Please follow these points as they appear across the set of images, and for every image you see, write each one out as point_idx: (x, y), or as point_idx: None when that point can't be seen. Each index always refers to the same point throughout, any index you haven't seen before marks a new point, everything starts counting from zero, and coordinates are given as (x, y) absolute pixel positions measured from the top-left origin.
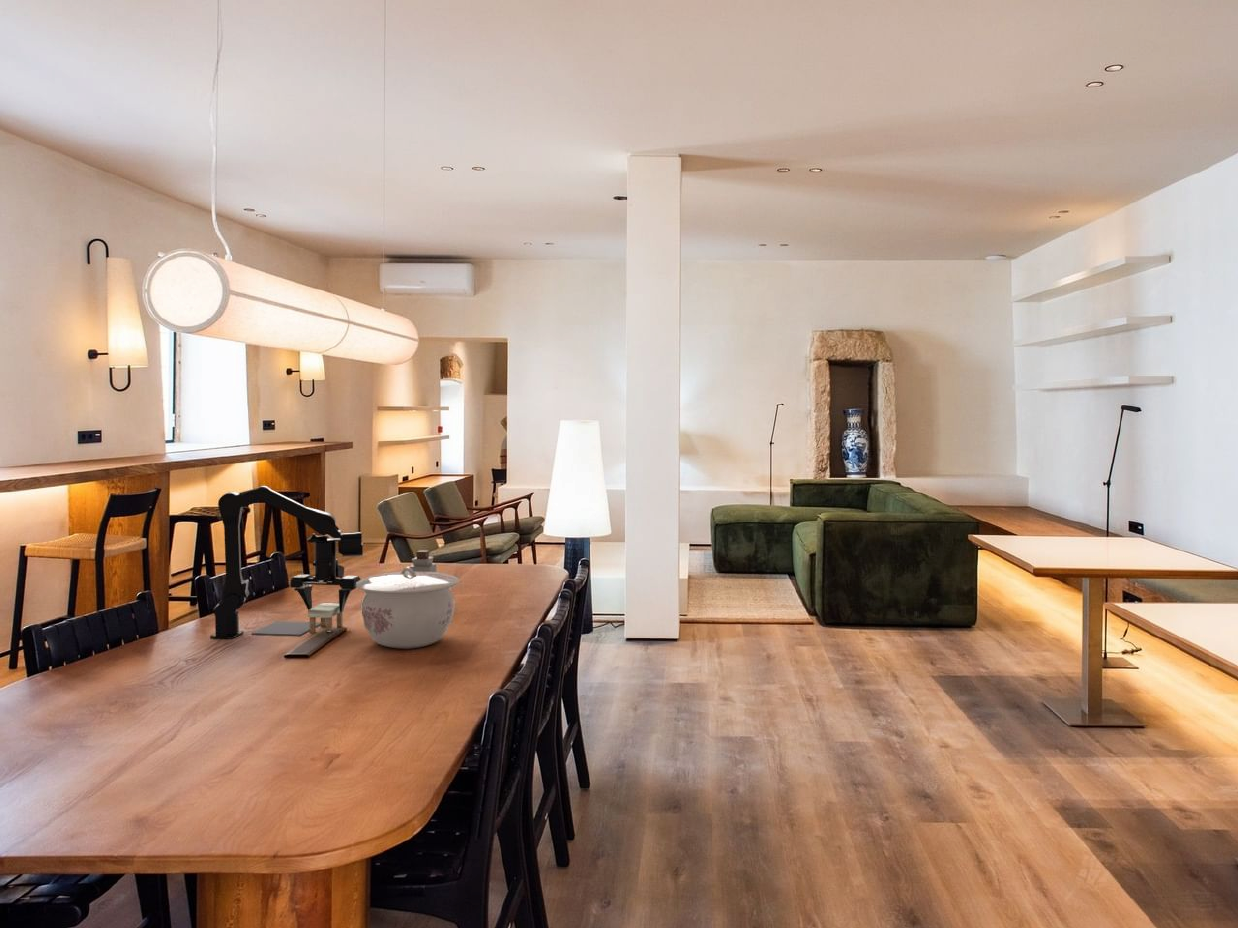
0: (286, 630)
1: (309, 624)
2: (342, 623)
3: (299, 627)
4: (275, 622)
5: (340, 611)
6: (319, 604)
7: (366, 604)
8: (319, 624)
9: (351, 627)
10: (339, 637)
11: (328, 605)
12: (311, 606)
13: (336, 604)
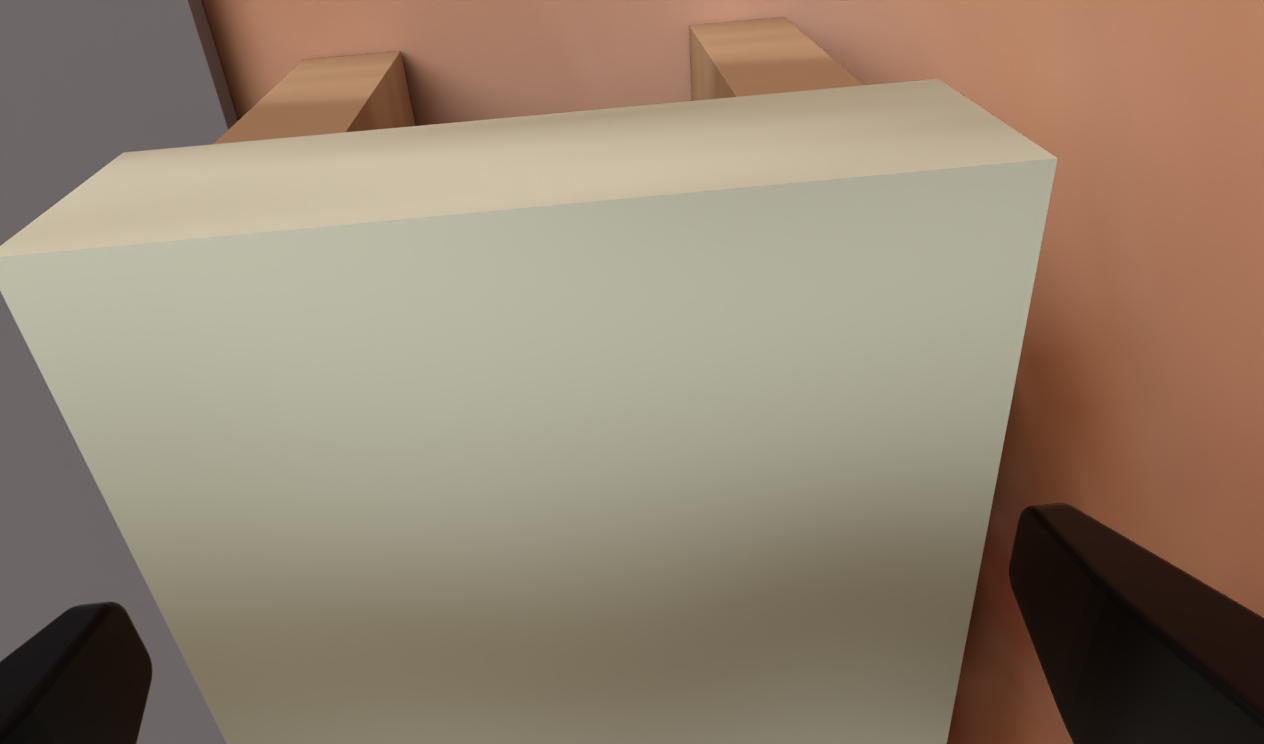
0: (20, 613)
1: (22, 159)
2: (798, 32)
3: (47, 416)
4: None
5: (1034, 603)
6: (109, 488)
7: None
8: (213, 61)
9: (1016, 91)
10: (985, 652)
11: (563, 541)
12: (62, 709)
13: (789, 345)
